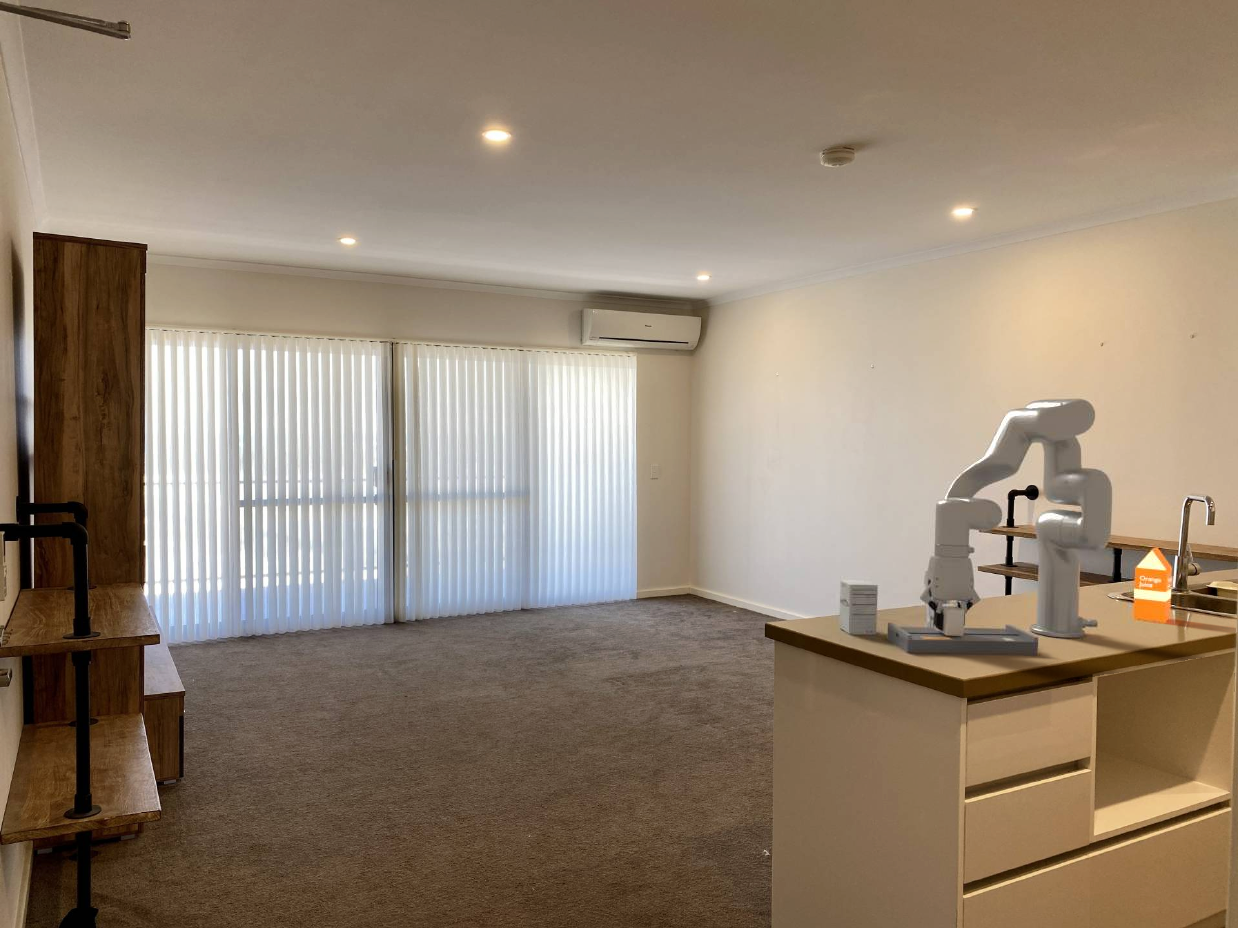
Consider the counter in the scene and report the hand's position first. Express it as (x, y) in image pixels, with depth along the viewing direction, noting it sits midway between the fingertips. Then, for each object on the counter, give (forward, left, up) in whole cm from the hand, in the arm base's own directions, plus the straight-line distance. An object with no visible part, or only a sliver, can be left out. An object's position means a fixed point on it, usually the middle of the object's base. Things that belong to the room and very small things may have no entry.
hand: (949, 628), depth 207 cm
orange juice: (-73, -38, -4) cm, 82 cm away
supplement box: (+17, -15, -5) cm, 23 cm away
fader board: (-3, 0, -4) cm, 5 cm away
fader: (0, 0, -2) cm, 2 cm away
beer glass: (-4, -17, -4) cm, 18 cm away
